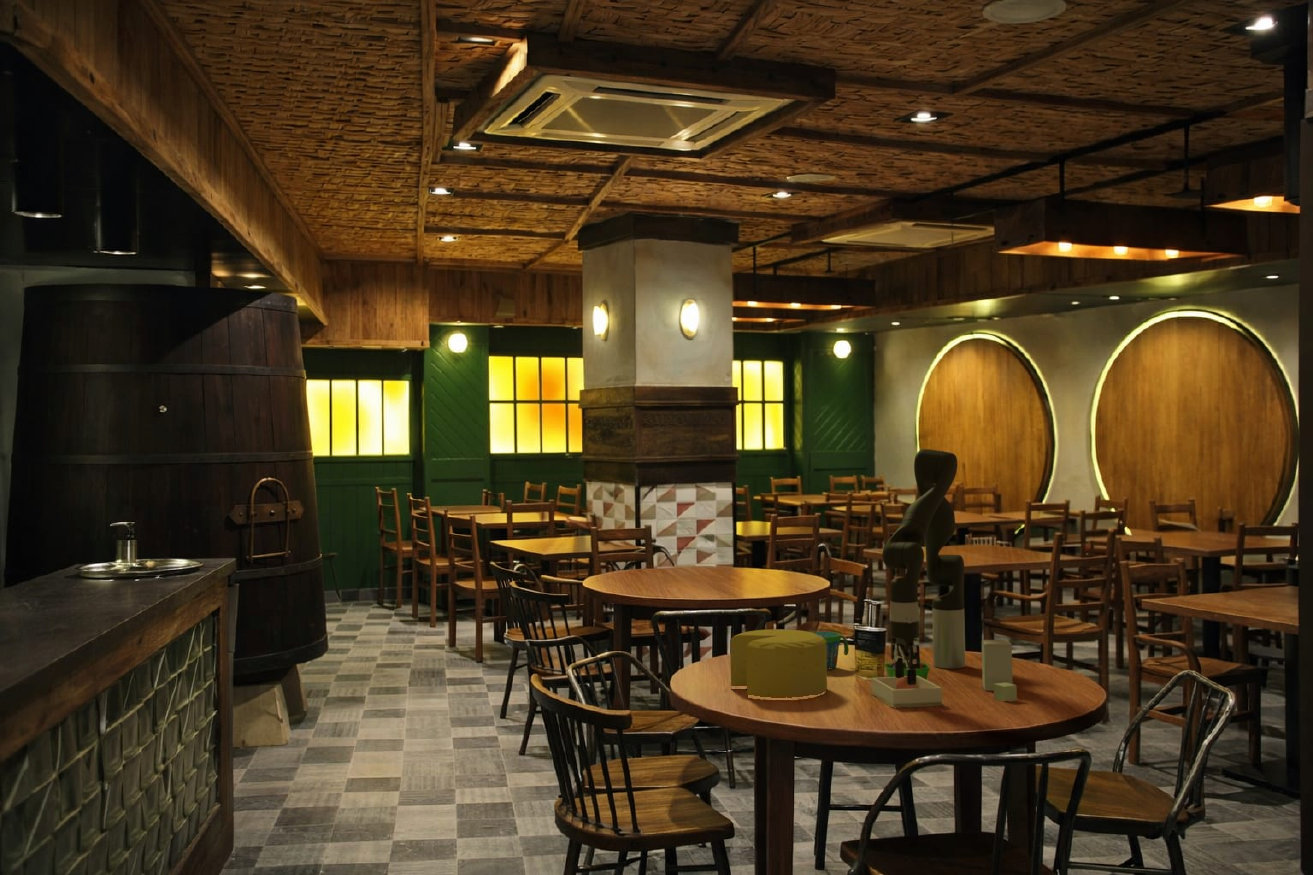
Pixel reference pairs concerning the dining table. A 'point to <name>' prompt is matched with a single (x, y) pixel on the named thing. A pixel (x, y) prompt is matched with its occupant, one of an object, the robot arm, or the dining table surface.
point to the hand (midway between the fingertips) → (905, 681)
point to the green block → (1005, 692)
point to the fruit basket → (919, 672)
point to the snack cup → (833, 646)
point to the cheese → (779, 663)
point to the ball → (904, 684)
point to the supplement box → (996, 663)
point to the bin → (906, 693)
